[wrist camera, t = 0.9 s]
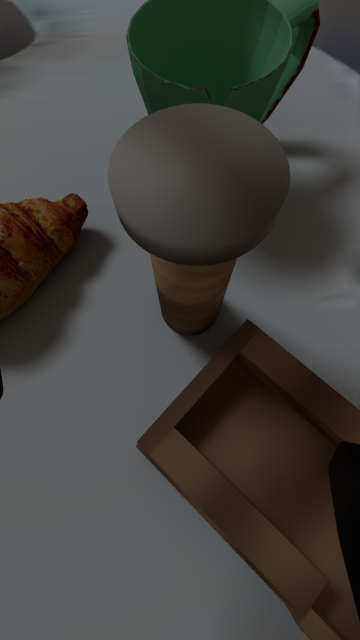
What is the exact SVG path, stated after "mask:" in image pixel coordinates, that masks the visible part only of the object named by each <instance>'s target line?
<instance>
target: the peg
mask: <svg viewBox="0 0 360 640" xmlns="http://www.w3.org/2000/svg"><path fill="white" fill-rule="evenodd" d="M108 182H109V187H110V191H111V194H112V198H113V201H114V204H115V207H116V210H117V213H118V216H119V219H120V221H121V224H122V225H123V227H124V229H125V231H126V232H127V233H128V235H129V236H130V237H131V238H132V239H133V240H134V241H135V242H136V243H137V244H138V245H139V246H140V247H142V248H143V249H144V250H146V251H147V252H149V253H150V257H151V262H152V267H153V272H154V277H155V282H156V287H157V292H158V297H159V302H160V307H161V312H162V316H163V319H164V320H165V322H166V323H167V325H168V326H169V327H170V328H171V329H173V330H174V331H176V332H178V333H181V334H184V335H196V334H200V333H203V332H205V331H206V330H208V329H209V328H210V327H211V326H212V325H213V324H214V323H215V321H216V319H217V317H218V314H219V311H220V308H221V305H222V302H223V299H224V296H225V293H226V290H227V287H228V284H229V281H230V278H231V275H232V272H233V269H234V266H235V263H236V259H237V258H238V257H240V256H242V255H244V254H246V253H247V252H249V251H250V250H252V249H253V248H254V247H256V246H257V245H258V244H259V243H260V242H261V241H262V240H263V239H264V238H265V236H266V235H267V234H268V233H269V231H270V229H271V228H272V226H273V224H274V222H275V220H276V218H277V215H278V213H279V211H280V209H281V207H282V205H283V202H284V200H285V198H286V195H287V192H288V188H289V182H290V170H289V164H288V160H287V156H286V154H285V152H284V150H283V147H282V146H281V144H280V143H279V141H278V140H277V138H276V137H275V136H274V135H273V134H272V133H271V131H269V130H268V129H267V128H266V127H265V126H264V125H263V124H261V123H260V122H258V121H257V120H256V119H254V118H252V117H250V116H248V115H247V114H244V113H242V112H240V111H237V110H234V109H231V108H228V107H224V106H219V105H213V104H183V105H177V106H172V107H168V108H165V109H162V110H159V111H157V112H154V113H152V114H150V115H148V116H146V117H144V118H143V119H141V120H140V121H138V122H137V123H135V124H134V125H133V126H132V127H131V128H129V129H128V130H127V131H126V133H125V134H124V135H123V136H122V137H121V138H120V140H119V141H118V143H117V144H116V146H115V148H114V150H113V152H112V155H111V158H110V162H109V168H108Z"/></svg>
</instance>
